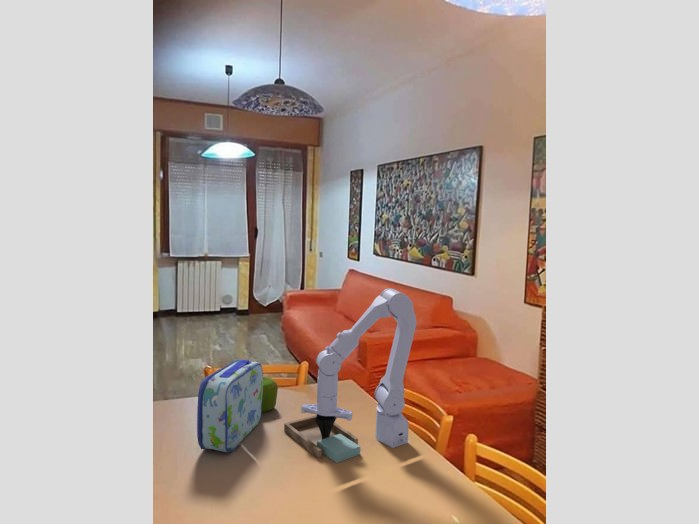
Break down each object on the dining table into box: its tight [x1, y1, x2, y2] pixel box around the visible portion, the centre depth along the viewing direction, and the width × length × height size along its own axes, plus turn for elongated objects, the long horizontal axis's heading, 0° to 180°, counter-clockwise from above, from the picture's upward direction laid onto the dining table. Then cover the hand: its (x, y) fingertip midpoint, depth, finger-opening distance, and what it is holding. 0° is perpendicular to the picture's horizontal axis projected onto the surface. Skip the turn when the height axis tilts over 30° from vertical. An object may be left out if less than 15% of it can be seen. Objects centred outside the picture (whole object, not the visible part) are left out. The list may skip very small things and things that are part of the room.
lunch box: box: [196, 359, 264, 453], centre depth 135 cm, size 26×11×21 cm, turn 168°
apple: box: [261, 376, 279, 413], centre depth 155 cm, size 11×11×11 cm
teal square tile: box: [317, 434, 361, 464], centre depth 127 cm, size 9×8×2 cm
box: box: [283, 414, 359, 460], centre depth 135 cm, size 19×13×3 cm
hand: (325, 440), depth 132 cm, fingers closed
